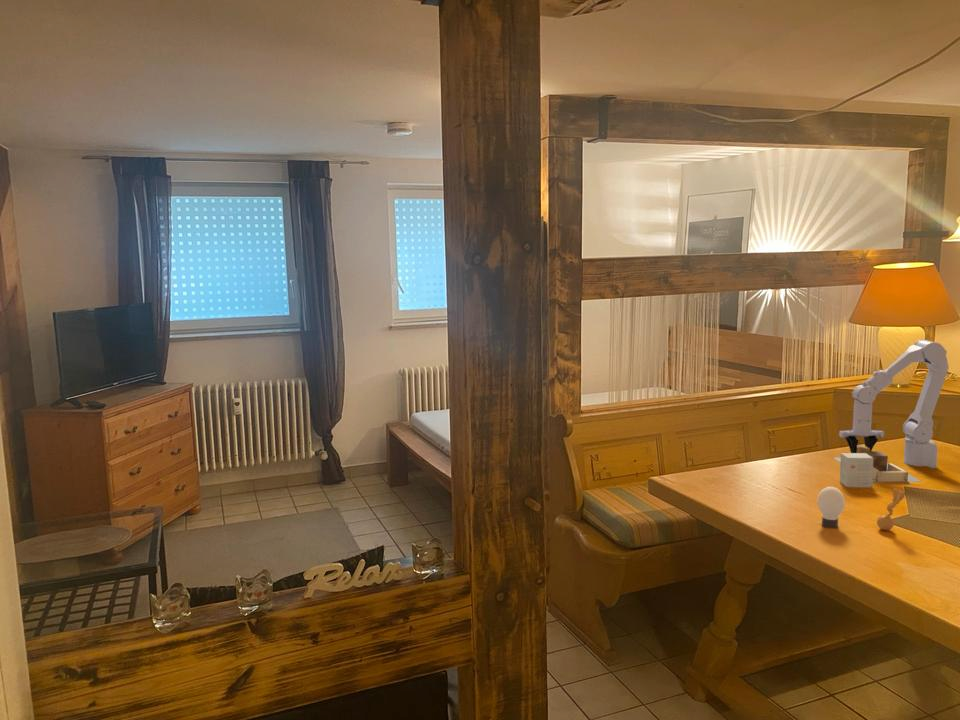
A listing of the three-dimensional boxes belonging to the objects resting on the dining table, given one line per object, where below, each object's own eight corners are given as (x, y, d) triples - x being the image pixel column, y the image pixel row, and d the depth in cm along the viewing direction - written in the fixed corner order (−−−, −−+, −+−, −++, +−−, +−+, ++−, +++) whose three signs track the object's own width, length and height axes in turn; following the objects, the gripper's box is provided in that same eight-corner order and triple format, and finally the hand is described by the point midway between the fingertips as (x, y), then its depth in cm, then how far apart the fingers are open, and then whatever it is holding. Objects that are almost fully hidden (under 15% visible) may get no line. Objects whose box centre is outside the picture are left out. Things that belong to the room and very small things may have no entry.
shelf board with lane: (878, 459, 256) (878, 449, 255) (921, 483, 228) (922, 472, 228) (832, 459, 257) (833, 449, 256) (870, 484, 229) (871, 472, 229)
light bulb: (823, 530, 192) (825, 491, 191) (811, 521, 199) (813, 483, 198) (848, 529, 193) (850, 490, 191) (835, 520, 199) (837, 482, 198)
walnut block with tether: (864, 458, 252) (866, 442, 251) (886, 472, 238) (887, 455, 237) (850, 458, 253) (851, 442, 252) (871, 473, 238) (872, 456, 237)
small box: (864, 484, 229) (866, 452, 228) (872, 489, 224) (874, 457, 222) (838, 484, 230) (840, 452, 229) (845, 489, 225) (847, 457, 223)
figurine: (878, 523, 196) (880, 482, 194) (903, 527, 193) (906, 485, 191) (875, 533, 189) (877, 490, 188) (901, 538, 186) (903, 494, 184)
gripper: (877, 416, 252) (875, 453, 254) (836, 417, 253) (834, 453, 255) (887, 421, 245) (885, 458, 247) (845, 421, 246) (843, 459, 248)
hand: (860, 456), depth 251 cm, fingers closed on walnut block with tether, 4 cm apart
